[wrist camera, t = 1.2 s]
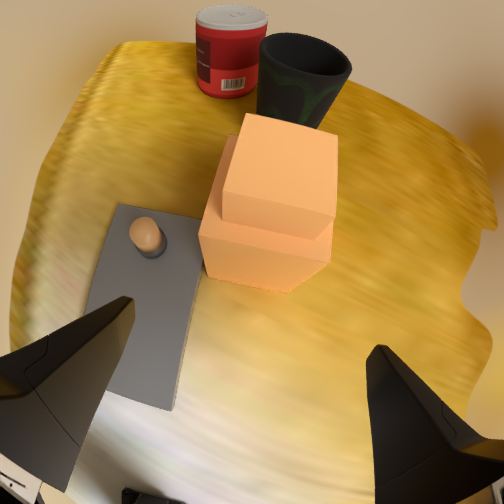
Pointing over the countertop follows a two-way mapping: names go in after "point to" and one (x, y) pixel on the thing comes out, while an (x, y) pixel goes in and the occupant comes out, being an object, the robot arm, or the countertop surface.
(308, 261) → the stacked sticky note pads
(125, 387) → the board
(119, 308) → the robot arm
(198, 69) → the canned food
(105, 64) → the countertop surface
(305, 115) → the cup
